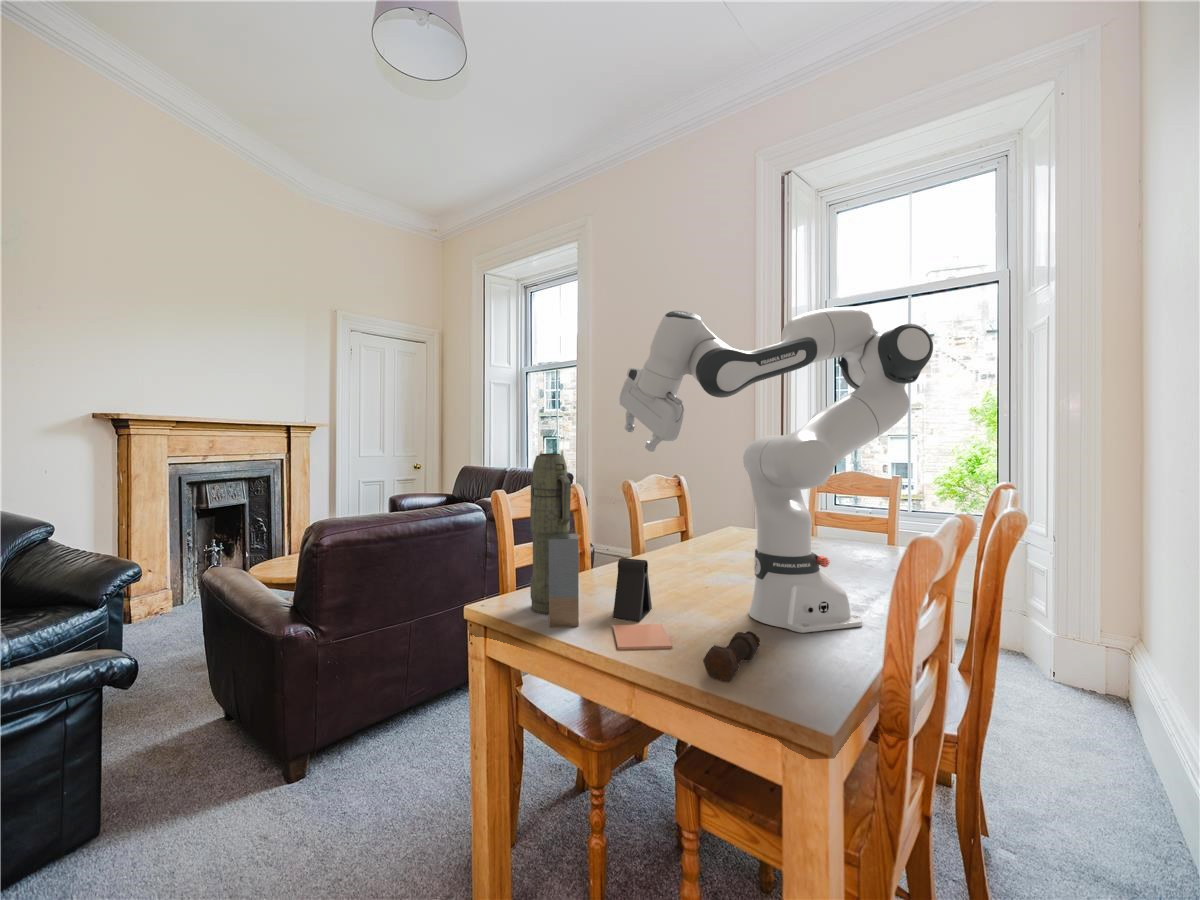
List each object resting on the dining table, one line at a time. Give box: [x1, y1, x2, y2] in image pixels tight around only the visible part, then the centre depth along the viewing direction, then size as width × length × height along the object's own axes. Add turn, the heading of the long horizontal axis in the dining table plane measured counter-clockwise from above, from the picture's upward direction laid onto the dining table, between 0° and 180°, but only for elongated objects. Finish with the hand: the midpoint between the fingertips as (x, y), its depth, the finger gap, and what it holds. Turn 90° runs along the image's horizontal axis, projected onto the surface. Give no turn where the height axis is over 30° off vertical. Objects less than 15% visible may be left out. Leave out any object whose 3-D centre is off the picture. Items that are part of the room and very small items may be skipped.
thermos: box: [529, 453, 572, 616], centre depth 117 cm, size 9×12×35 cm
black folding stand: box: [612, 557, 653, 623], centre depth 114 cm, size 9×6×12 cm, turn 157°
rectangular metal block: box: [548, 533, 581, 628], centre depth 109 cm, size 6×6×18 cm
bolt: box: [702, 631, 761, 683], centre depth 89 cm, size 6×5×15 cm
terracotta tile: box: [612, 623, 673, 651], centre depth 101 cm, size 10×11×1 cm
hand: (638, 440), depth 119 cm, fingers open, 8 cm apart
